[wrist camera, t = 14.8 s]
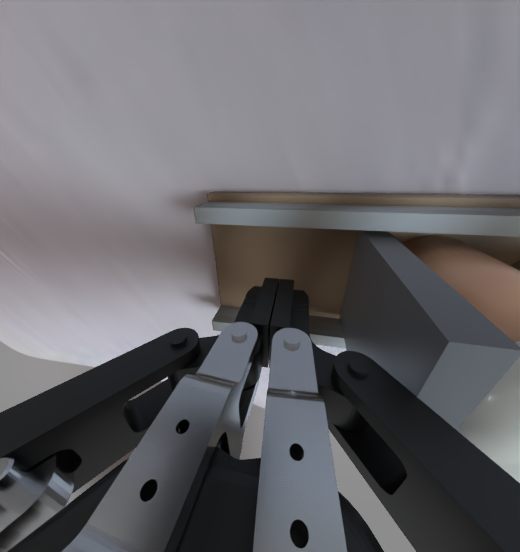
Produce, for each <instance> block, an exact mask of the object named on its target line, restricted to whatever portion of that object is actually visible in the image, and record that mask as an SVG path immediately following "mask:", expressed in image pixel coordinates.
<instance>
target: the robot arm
mask: <svg viewBox="0 0 520 552" xmlns="http://www.w3.org/2000/svg"><path fill="white" fill-rule="evenodd" d="M268 364H269V368H270V373H269V385H268V390H267V397H266V408H265V420H264V430H263V442H262V453H261V458H256V459H247V460H239V459H240V454H241V450H242V443H243V436H244V432H245V428H246V425H247V421H248V418H249V414H250V411H251V408H252V405H253V401H254V398H255V394H256V391H257V388H258V384H259V377H260V373H261V368H262V367H268ZM166 377H168V379H167V380H165V381H164V382H162V383H160V384H159V385H157V386H156V387H154V388H152V389H151V390H149V391H147V392H146V393H144V394H142V395H141V396H139V397H137V398H136V399H133V400H130V401H128V400H129V399H131V398H132V397H134V396H136V395H137V394H139V393H141V392H142V391H144V390H146V389H148V388H149V387H151V386H153V385H154V384H156V383H158V382H159V381H161V380H163V379H164V378H166ZM329 430H330V431H331V433H332V434H333V436H334V437H335V438H336V440H337V441H338V443H339V444H340V445H341V447H342V448H343V449H344V451H345V452H346V454H347V455H348V456H349V458H350V459H351V461H352V462H353V464H354V465H355V466H356V468H357V469H358V471H359V472H360V473H361V475H362V476H363V478H364V479H365V480H366V482H367V483H368V484H369V486H370V487H371V489H372V490H373V492H374V493H375V494H376V496H377V497H378V498H379V500H380V501H381V503H382V504H383V505H384V507H385V508H386V510H387V511H388V512H389V514H390V515H391V517H392V518H393V519H394V521H395V522H396V524H397V525H398V526H399V528H400V529H401V531H402V532H403V533H404V535H405V536H406V538H407V539H408V540H409V542H410V543H411V544H412V546H413V547H414V549H415V550H416V552H520V483H519V482H518V481H517V480H515V479H514V478H513V477H512V476H511V475H509V474H508V473H507V472H506V471H505V470H503V469H502V468H501V467H500V466H499V465H497V464H496V463H495V462H494V461H493V460H492V459H490V458H489V457H488V456H487V455H486V454H484V453H483V452H482V451H481V450H480V449H478V448H477V447H476V446H475V445H474V444H472V443H471V442H470V441H469V440H468V439H467V438H465V437H464V436H463V435H462V434H461V433H459V432H458V431H457V430H456V429H455V428H453V427H452V426H451V425H450V424H449V423H447V422H446V421H445V420H444V419H443V418H442V417H440V416H439V415H438V414H437V413H436V412H434V411H433V410H432V409H431V408H430V407H428V406H427V405H426V404H425V403H424V402H422V401H421V400H420V399H419V398H418V397H416V396H415V395H414V394H413V393H412V392H411V391H409V390H408V389H407V388H406V387H405V386H403V385H402V384H401V383H400V382H399V381H397V380H396V379H395V378H394V377H393V376H391V375H390V374H389V373H388V372H387V371H386V370H384V369H383V368H382V367H381V366H380V365H378V364H377V363H376V362H375V361H374V360H372V359H371V358H370V357H368V356H366V355H364V354H362V353H359V352H356V351H344V352H341V353H340V354H338V355H337V356H335V355H332V354H330V353H327V352H325V351H323V350H321V349H320V348H318V347H317V346H316V345H315V344H314V343H313V342H312V340H311V338H310V334H309V297H308V295H307V294H306V292H305V291H304V290H294V280H290V279H280V282H279V279H278V278H266V277H265V279H264V282H263V285H262V287H260V286H254V287H252V288H251V289H250V290H249V291H248V292H247V294H246V296H245V299H244V301H243V304H242V305H241V308H240V310H239V312H238V314H237V317H236V319H235V321H234V323H232V324H230V325H228V326H226V327H225V328H224V329H223V330H222V332H221V334H220V335H217V336H212V337H204V338H199V336H198V334H197V332H196V331H195V330H193V329H190V328H180V329H176V330H173V331H171V332H169V333H167V334H165V335H162V336H160V337H158V338H156V339H154V340H152V341H150V342H148V343H146V344H144V345H141V346H139V347H137V348H135V349H133V350H131V351H129V352H127V353H125V354H123V355H121V356H118V357H116V358H114V359H112V360H110V361H108V362H106V363H104V364H102V365H100V366H97V367H95V368H93V369H92V370H89V371H87V372H85V373H83V374H81V375H79V376H77V377H75V378H72V379H70V380H68V381H66V382H64V383H62V384H60V385H58V386H56V387H53V388H51V389H49V390H47V391H45V392H43V393H41V394H39V395H37V396H35V397H33V398H31V399H28V400H26V401H24V402H22V403H20V404H18V405H16V406H14V407H11V408H9V409H7V410H5V411H3V412H1V413H0V552H384V551H383V549H382V548H381V546H380V544H379V543H378V541H377V539H376V538H375V536H374V535H373V533H372V531H371V530H370V528H369V527H368V525H367V524H366V522H365V521H364V520H363V518H362V517H361V516H360V514H359V513H358V511H357V510H356V509H355V508H354V507H353V506H352V505H351V503H350V502H349V501H348V500H347V499H346V498H345V497H344V496H343V495H342V494H341V493H340V492H338V488H337V482H336V476H335V469H334V462H333V456H332V449H331V443H330V436H329ZM134 448H136V449H135V450H134V452H133V453H132V455H131V456H130V458H129V459H127V460H125V461H124V462H122V463H121V464H120V465H118V466H117V467H116V468H114V469H113V470H112V471H111V472H109V473H108V474H107V475H105V476H104V477H103V478H102V479H100V480H99V481H98V482H96V483H95V484H94V485H92V486H91V487H90V488H89V489H87V490H86V491H85V492H83V493H82V494H81V495H79V496H78V497H77V498H76V499H74V500H73V501H72V502H71V503H69V501H68V500H69V498H70V496H71V494H72V493H73V492H75V491H76V490H77V489H79V488H80V487H82V486H83V485H85V484H86V483H87V482H89V481H90V480H92V479H93V478H94V477H96V476H97V475H98V474H100V473H101V472H103V471H104V470H105V469H107V468H108V467H109V466H111V465H112V464H114V463H115V462H116V461H118V460H119V459H120V458H122V457H123V456H125V455H126V454H127V453H129V452H130V451H132V450H133V449H134Z"/></svg>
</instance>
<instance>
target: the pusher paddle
mask: <svg viewBox="0 0 520 552" xmlns="http://www.w3.org/2000/svg"><path fill="white" fill-rule="evenodd" d="M340 321H341V325H342V330H343V335H344V340H345V345H346V349H347V351H356V352H359V353H362V354H364V355H366V356H368V357H370V358H371V359H372V360H374V361H375V362H376V363H377V364H378V365H380V366H381V367H382V368H383V369H384V370H386V371H387V372H388V373H389V374H390V375H391V376H393V377H394V378H395V379H396V380H397V381H399V382H400V383H401V384H402V385H403V386H405V387H406V388H407V389H408V390H409V391H411V392H412V393H413V394H414V395H415V396H416V397H418V398H419V399H420V400H421V401H422V402H424V403H425V404H426V405H427V406H428V407H430V408H431V409H432V410H433V411H434V412H436V413H437V414H438V415H439V416H440V417H442V418H443V419H444V420H445V421H446V422H447V423H449V424H450V425H451V426H452V427H453V428H455V429H456V430H457V429H458V428H459V427H460V426H461V424H462V423H463V422H464V421H465V420H466V419H467V417H468V416H469V415H470V414H471V413H472V412H473V410H474V409H475V408H476V407H477V406H478V405H479V403H480V402H481V401H482V400H483V399H484V398H485V396H486V395H487V394H488V393H489V392H490V391H491V389H492V388H493V387H494V386H495V385H496V384H497V382H498V381H499V380H500V379H501V378H502V376H503V375H504V374H505V373H506V372H507V371H508V369H509V368H510V367H511V366H512V365H513V364H514V362H515V361H516V360H517V359H518V358H519V357H520V347H519V346H518V345H517V344H516V343H515V342H514V341H512V340H511V339H510V338H509V337H508V336H507V335H506V334H504V333H503V332H502V331H501V330H500V329H499V328H498V327H496V326H495V325H494V324H493V323H492V322H491V321H490V320H488V319H487V318H486V317H485V316H484V315H483V314H482V313H480V312H479V311H478V310H477V309H476V308H475V307H474V306H472V305H471V304H470V303H469V302H468V301H467V300H466V299H464V298H463V297H462V296H461V295H460V294H459V293H458V292H457V291H455V290H454V289H453V288H452V287H451V286H450V285H449V284H447V283H446V282H445V281H444V280H443V279H442V278H441V277H439V276H438V275H437V274H436V273H435V272H434V271H433V270H431V269H430V268H429V267H428V266H427V265H426V264H425V263H423V262H422V261H421V260H420V259H419V258H418V257H417V256H415V255H414V254H413V253H412V252H411V251H410V250H409V249H407V248H406V247H405V246H404V245H403V244H402V243H401V242H400V241H398V240H397V239H396V238H395V237H394V236H393V235H392V234H390V233H389V232H388V231H366V230H359V232H358V237H357V241H356V246H355V250H354V255H353V259H352V264H351V269H350V273H349V278H348V282H347V287H346V291H345V296H344V300H343V305H342V309H341V314H340Z"/></svg>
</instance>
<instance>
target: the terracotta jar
mask: <svg viewBox="0 0 520 552" xmlns="http://www.w3.org/2000/svg"><path fill="white" fill-rule="evenodd" d="M402 244H403V245H404V246H405V247H406V248H407V249H409V250H410V251H411V252H412V253H413V254H414V255H415V256H417V257H418V258H419V259H420V260H421V261H422V262H423V263H425V264H426V265H427V266H428V267H429V268H430V269H431V270H433V271H434V272H435V273H436V274H437V275H438V276H439V277H441V278H442V279H443V280H444V281H445V282H446V283H447V284H449V285H450V286H451V287H452V288H453V289H454V290H455V291H457V292H458V293H459V294H460V295H461V296H462V297H463V298H464V299H466V300H467V301H468V302H469V303H470V304H471V305H472V306H474V307H475V308H476V309H477V310H478V311H479V312H480V313H482V314H483V315H484V316H485V317H486V318H487V319H488V320H490V321H491V322H492V323H493V324H494V325H495V326H496V327H498V328H499V329H500V330H501V331H502V332H503V333H504V334H506V335H507V336H508V337H509V338H510V339H511V340H512V341H514V342H515V343H516V344H517V345H518V346H519V347H520V271H519V270H517V269H515V268H513V267H511V266H509V265H507V264H505V263H503V262H501V261H499V260H497V259H495V258H493V257H491V256H489V255H487V254H485V253H483V252H482V251H480V250H478V249H476V248H474V247H472V246H470V245H468V244H466V243H464V242H462V241H460V240H457V239H455V238H452V237H447V236H438V235H434V236H424V237H419V238H415V239H412V240H409V241H406V242H404V243H402ZM457 431H458V432H459V433H461V434H462V435H463V436H464V437H465V438H467V439H468V440H469V441H470V442H471V443H472V444H474V445H475V446H476V447H477V448H478V449H480V450H481V451H482V452H483V453H484V454H486V455H487V456H488V457H489V458H490V459H492V460H493V461H494V462H495V463H496V464H497V465H499V466H500V467H501V468H502V469H503V470H505V471H506V472H507V473H508V474H509V475H511V476H512V477H513V478H514V479H515V480H517V481H518V482H519V483H520V357H519V358H518V359H517V360H516V361H515V362H514V364H513V365H512V366H511V367H510V368H509V369H508V371H507V372H506V373H505V374H504V375H503V376H502V378H501V379H500V380H499V381H498V382H497V384H496V385H495V386H494V387H493V388H492V389H491V391H490V392H489V393H488V394H487V395H486V396H485V398H484V399H483V400H482V401H481V402H480V403H479V405H478V406H477V407H476V408H475V409H474V410H473V412H472V413H471V414H470V415H469V416H468V417H467V419H466V420H465V421H464V422H463V423H462V424H461V426H460V427H459V428H458V429H457Z"/></svg>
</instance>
